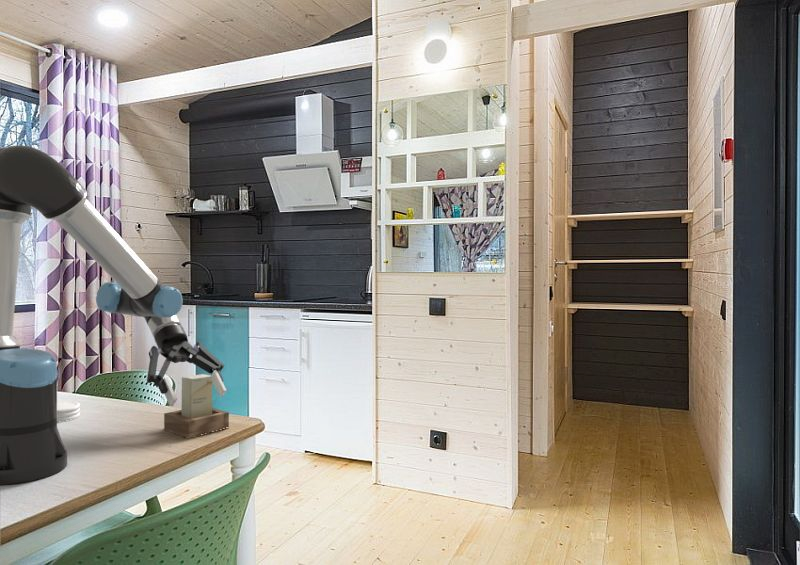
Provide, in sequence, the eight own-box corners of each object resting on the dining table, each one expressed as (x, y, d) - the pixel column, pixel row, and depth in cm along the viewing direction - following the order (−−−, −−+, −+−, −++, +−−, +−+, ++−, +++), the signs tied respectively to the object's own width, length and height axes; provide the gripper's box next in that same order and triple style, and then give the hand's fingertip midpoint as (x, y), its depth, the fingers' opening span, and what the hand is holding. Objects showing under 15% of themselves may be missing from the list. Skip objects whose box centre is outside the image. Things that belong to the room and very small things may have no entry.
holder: (188, 438, 135) (188, 421, 134) (164, 429, 141) (164, 413, 141) (228, 428, 143) (228, 412, 143) (203, 420, 150) (203, 405, 150)
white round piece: (65, 424, 145) (65, 410, 145) (27, 423, 146) (26, 409, 146) (87, 414, 155) (87, 401, 155) (51, 413, 156) (51, 400, 156)
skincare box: (190, 429, 139) (190, 379, 138) (180, 425, 141) (180, 376, 141) (213, 423, 144) (213, 375, 143) (203, 420, 146) (203, 373, 146)
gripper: (204, 337, 162) (235, 398, 153) (115, 345, 143) (144, 416, 134) (215, 320, 159) (248, 381, 150) (125, 326, 139) (156, 397, 130)
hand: (199, 398), depth 142 cm, fingers open, 13 cm apart
